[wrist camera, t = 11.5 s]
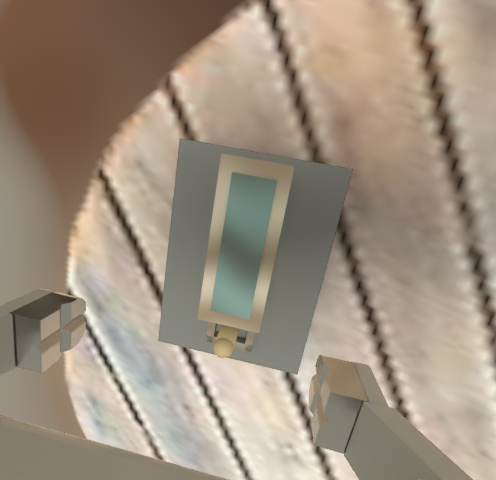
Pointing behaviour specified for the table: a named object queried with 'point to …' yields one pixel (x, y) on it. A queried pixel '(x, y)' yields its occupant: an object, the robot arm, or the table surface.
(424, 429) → the table surface
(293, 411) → the table surface
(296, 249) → the board
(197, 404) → the table surface
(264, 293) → the frame
